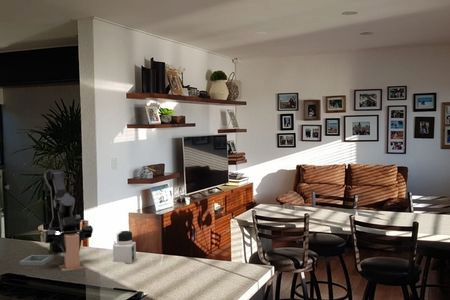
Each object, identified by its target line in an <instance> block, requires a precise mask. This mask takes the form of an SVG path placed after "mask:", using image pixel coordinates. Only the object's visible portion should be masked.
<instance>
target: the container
mask: <svg viewBox="0 0 450 300" xmlns="http://www.w3.org/2000/svg"><path fill="white" fill-rule="evenodd" d="M112 251H113V253H112V254H113V262H114V263H115V262H116V263H117V262H118V263H119V262H120V263H121V262H122V263H124V264H125V265H129V264H130V265H131V264H132V263H133V262H134V261H135V260H137V242H136V241H133V232H132V231H130V230H121V231H118V232H117V233H116V244H114V245H113V248H112Z"/></svg>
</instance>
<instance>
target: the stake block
mask: <svg viewBox="0 0 450 300" xmlns="http://www.w3.org/2000/svg"><path fill="white" fill-rule="evenodd" d="M58 267H59V268H60V269H61V271H62V272H67V271H73V270H79V269H84V268H85V269H86V266H85V265H84V264H83V263H82V261H80V267H76V268H69V269H67V268H66V267H65V264H62V265H61V264H60V265H58Z"/></svg>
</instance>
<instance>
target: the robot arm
mask: <svg viewBox="0 0 450 300" xmlns="http://www.w3.org/2000/svg"><path fill="white" fill-rule="evenodd" d="M43 174H44V175H43V176H44V177H43V178H44V180H45V181H46V182H45V184H46V185H47V187H48V188H49V189H50V190H49V191H50V201H51V215H52V219H51V222H50V223H49V227H48V229H47V230H45V233H44V243H45V244H49V250H48V252H49V253H51V254H52V253H53V254H59V253H66V249H65V245H64V235H65V234H74V233H77V234H78V235H79V252H81V251H80V250H81V245H82V241H84V240H85V239H89V238H91V237H92V235H93V232H94V227H93V226H92V225H83V226H81V229H78V230H77V224H81V222H82V218H81V214H75V215H73V211H74V208H75V204H76V198H75V197H74V196H72V195H71V193H70V192H68V191H67V190H66V187H65V186H66V185H65V182H64V179H65V171H64V170H61V169H50V170H46V172H44V173H43Z"/></svg>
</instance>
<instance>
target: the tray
mask: <svg viewBox="0 0 450 300" xmlns="http://www.w3.org/2000/svg"><path fill="white" fill-rule="evenodd" d="M54 257H55V256H54V254H50V255H49V254H36V255H35V254H31V255H29V256H27V257H25V258H24V259H21V260H20V261H19V266H44V265H45V264H48V263H49V262H51V261H52V260H54V259H55V258H54Z"/></svg>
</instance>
